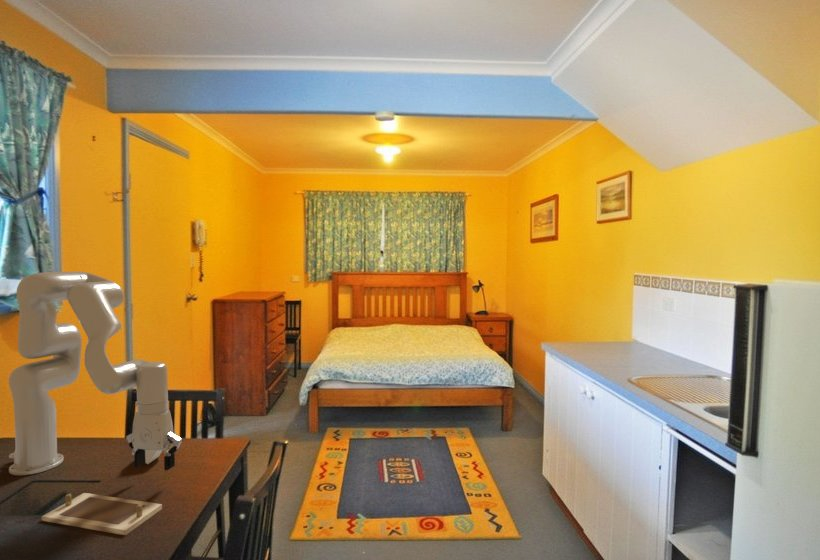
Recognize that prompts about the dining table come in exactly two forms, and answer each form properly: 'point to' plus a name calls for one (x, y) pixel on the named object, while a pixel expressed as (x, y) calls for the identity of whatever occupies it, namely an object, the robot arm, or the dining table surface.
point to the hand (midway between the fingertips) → (154, 466)
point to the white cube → (151, 455)
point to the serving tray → (102, 513)
